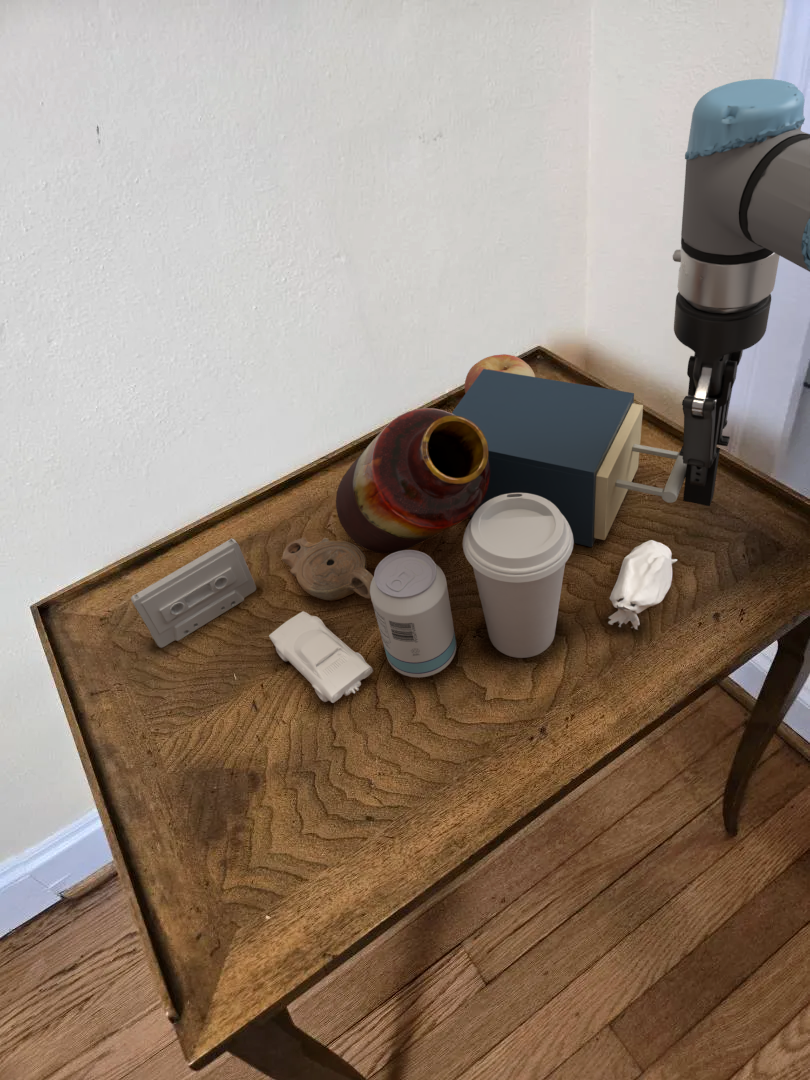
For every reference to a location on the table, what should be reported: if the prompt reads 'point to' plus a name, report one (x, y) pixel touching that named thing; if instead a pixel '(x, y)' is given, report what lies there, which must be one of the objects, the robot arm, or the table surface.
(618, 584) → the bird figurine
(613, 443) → the drawer
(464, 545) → the coffee cup
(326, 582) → the oil lamp
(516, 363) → the apple
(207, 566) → the cassette
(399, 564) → the beverage can
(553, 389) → the cabinet
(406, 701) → the table surface
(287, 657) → the toy car
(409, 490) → the vase
